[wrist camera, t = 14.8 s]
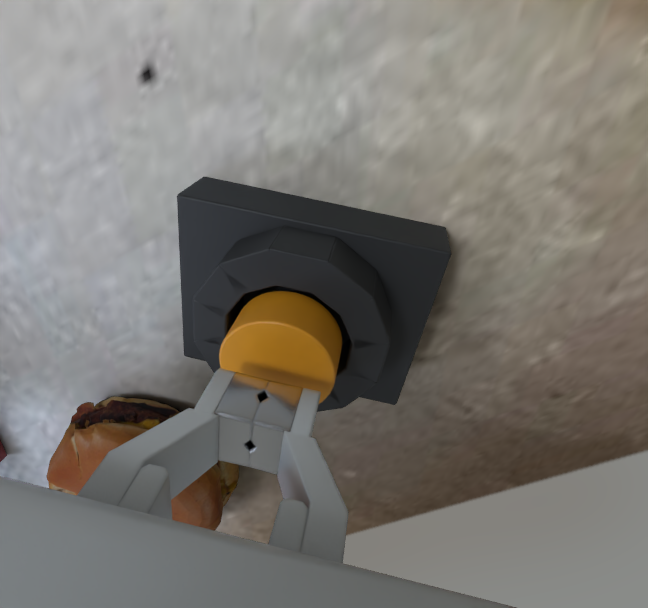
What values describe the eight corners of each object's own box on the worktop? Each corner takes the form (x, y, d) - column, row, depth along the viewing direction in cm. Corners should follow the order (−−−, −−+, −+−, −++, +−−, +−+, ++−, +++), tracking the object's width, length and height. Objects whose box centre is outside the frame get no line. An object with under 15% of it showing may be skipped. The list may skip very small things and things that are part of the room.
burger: (256, 501, 26) (229, 581, 22) (124, 486, 28) (78, 558, 24) (222, 383, 21) (179, 461, 17) (63, 374, 23) (-9, 443, 19)
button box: (203, 175, 15) (147, 213, 12) (446, 226, 15) (458, 281, 11) (204, 326, 19) (162, 386, 16) (396, 370, 19) (395, 442, 15)
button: (239, 278, 13) (218, 309, 12) (352, 303, 13) (345, 338, 11) (235, 363, 15) (217, 398, 14) (332, 386, 15) (324, 424, 13)
